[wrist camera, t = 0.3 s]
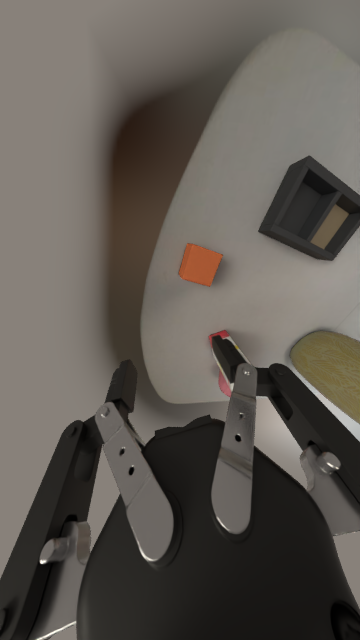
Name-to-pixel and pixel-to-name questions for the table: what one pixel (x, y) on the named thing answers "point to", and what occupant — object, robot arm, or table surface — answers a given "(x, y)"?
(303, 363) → the vase
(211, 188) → the table surface
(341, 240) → the frame
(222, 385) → the apple
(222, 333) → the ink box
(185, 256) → the terracotta cube
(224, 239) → the table surface
